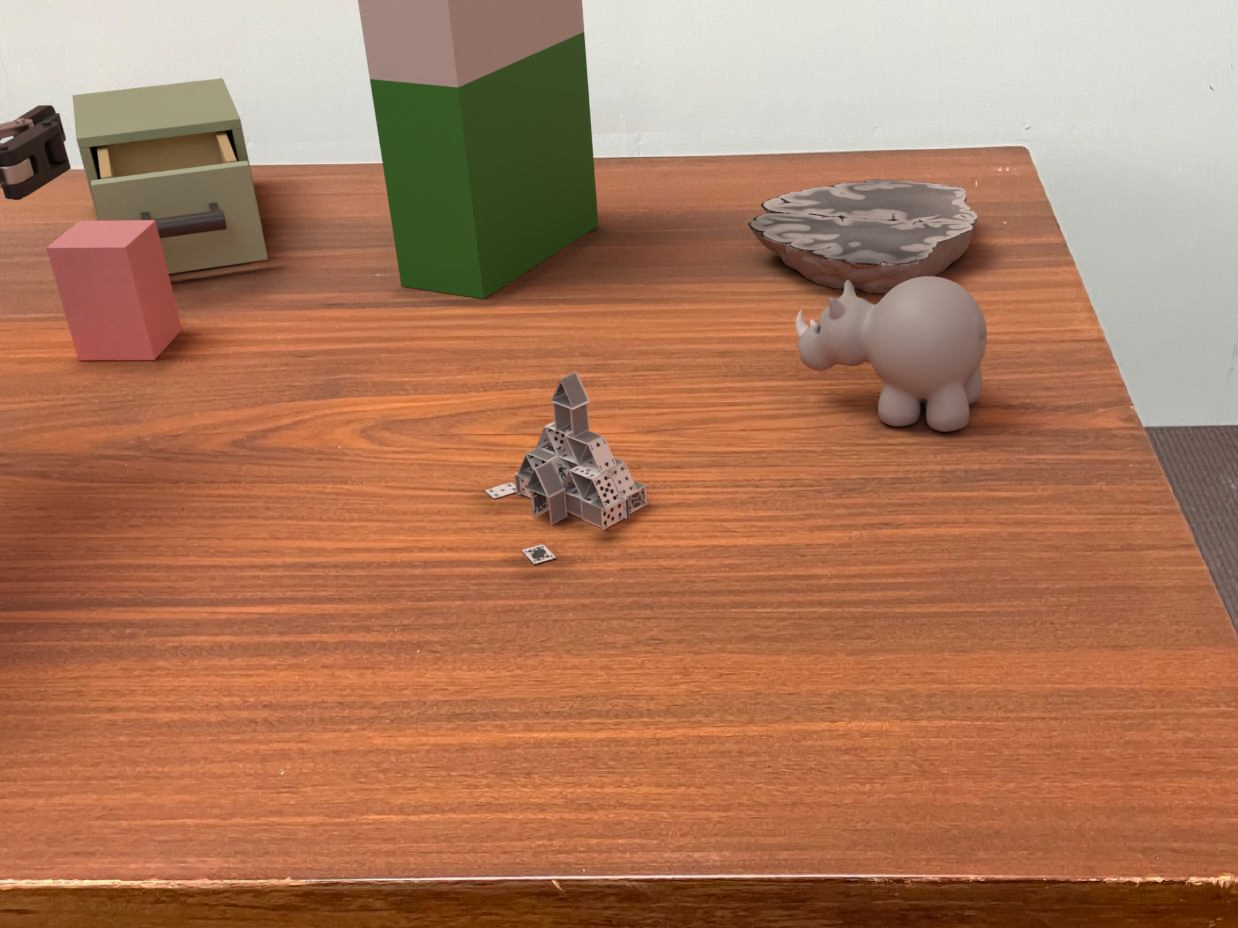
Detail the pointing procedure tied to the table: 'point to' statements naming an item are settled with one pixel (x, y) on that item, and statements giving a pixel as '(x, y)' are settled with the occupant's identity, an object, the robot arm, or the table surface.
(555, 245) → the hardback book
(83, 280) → the block
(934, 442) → the table surface
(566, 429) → the house of cards
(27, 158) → the robot arm
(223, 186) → the drawer
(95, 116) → the cabinet
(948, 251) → the brain slice
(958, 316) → the chubby cartoon animal
